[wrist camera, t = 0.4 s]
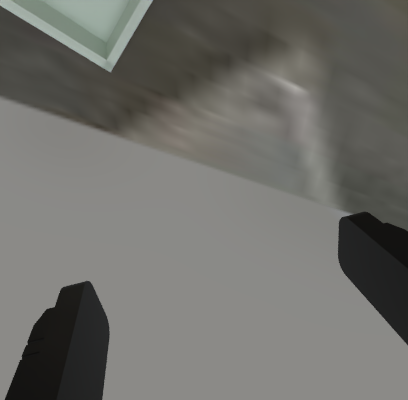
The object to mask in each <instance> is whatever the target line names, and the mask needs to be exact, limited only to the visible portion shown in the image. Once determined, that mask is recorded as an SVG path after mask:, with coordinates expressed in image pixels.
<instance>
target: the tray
mask: <svg viewBox="0 0 408 400" xmlns="http://www.w3.org/2000/svg"><path fill="white" fill-rule="evenodd" d="M152 1H153V0H0V6H2V7H3V8H5V9H7V10H8V11H10V12H12V13H13V14H15V15H17V16H18V17H20V18H22V19H23V20H25V21H27V22H28V23H30V24H31V25H33V26H35V27H36V28H38V29H40V30H41V31H43V32H45V33H46V34H48V35H50V36H51V37H53V38H55V39H56V40H58V41H60V42H61V43H63V44H64V45H66V46H68V47H69V48H71V49H73V50H74V51H76V52H78V53H79V54H81V55H83V56H84V57H86V58H88V59H89V60H91V61H92V62H94V63H96V64H97V65H99V66H101V67H102V68H104V69H106V70H107V71H109V72H111V71H112V69H113V67H114V66H115V64H116V62H117V60H118V59H119V57H120V55H121V54H122V52H123V50H124V49H125V47H126V45H127V43H128V42H129V40H130V38H131V37H132V35H133V33H134V31H135V30H136V28H137V26H138V25H139V23H140V21H141V20H142V18H143V16H144V14H145V13H146V11H147V9H148V8H149V6H150V4H151V3H152Z"/></svg>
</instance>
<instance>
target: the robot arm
mask: <svg viewBox="0 0 408 400" xmlns="http://www.w3.org/2000/svg"><path fill="white" fill-rule="evenodd" d="M338 243H339V244H338V259H339V263H340V266H341V268H342V270H343V272H344V274H345V275H346V276H347V277H348V278H349V279H350V280H351V282H352V283H353V284H354V285H355V286H356V287H357V288H358V290H359V291H360V292H361V293H362V294H363V295H364V296H365V297H366V298H367V300H368V301H369V302H370V303H371V304H372V305H373V306H374V308H376V310H377V311H378V312H379V313H380V314H381V315H382V317H383V318H384V319H385V320H386V321H387V322H388V323H389V324H390V326H391V327H392V328H393V329H394V330H395V331H396V332H397V334H398V335H399V336H400V337H401V338H402V339H403V340H404V341H405V342H406V344H407V345H408V231H406V230H405V229H402V228H399V227H397V226H394V225H392V224H389V223H382V222H381V221H379V220H378V219H377V218H375V217H374V216H372V215H371V214H370V213H368V212H361V213H357V214H353V215H349V216H346V217H342V218H341V219H340V221H339V241H338ZM108 344H109V324H108V319H107V316H106V314H105V312H104V309H103V308H102V305H101V303H100V301H99V298H98V296H97V295H96V292H95V290H94V288H93V285H92V284H91V282H89V281H85V282H82V283H78V284H74V285H70V286H66V287H63V288H62V289H61V291H60V293H59V296H58V299H57V302H56V305H55V307H54V308H49V309H47V310H46V311H45V312H44V313H43V314H42V316H41V317H40V319H39V320H38V321H37V322H36V323H35V325H34V326H33V329H32V331H31V334H30V337H29V339H28V345H26V347H25V349H24V352H23V354H22V360H20V362H19V365H18V367H17V370H16V373H15V375H14V377H13V380H12V383H11V385H10V388H9V390H8V393H7V395H6V398H5V400H102V396H103V388H104V379H105V370H106V362H107V352H108Z"/></svg>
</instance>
